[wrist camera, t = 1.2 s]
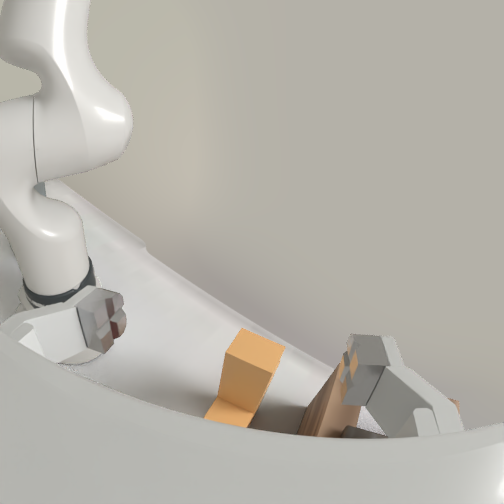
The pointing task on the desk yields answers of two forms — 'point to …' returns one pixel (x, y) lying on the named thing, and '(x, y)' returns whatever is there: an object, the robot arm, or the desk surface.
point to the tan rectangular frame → (335, 414)
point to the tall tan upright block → (244, 378)
